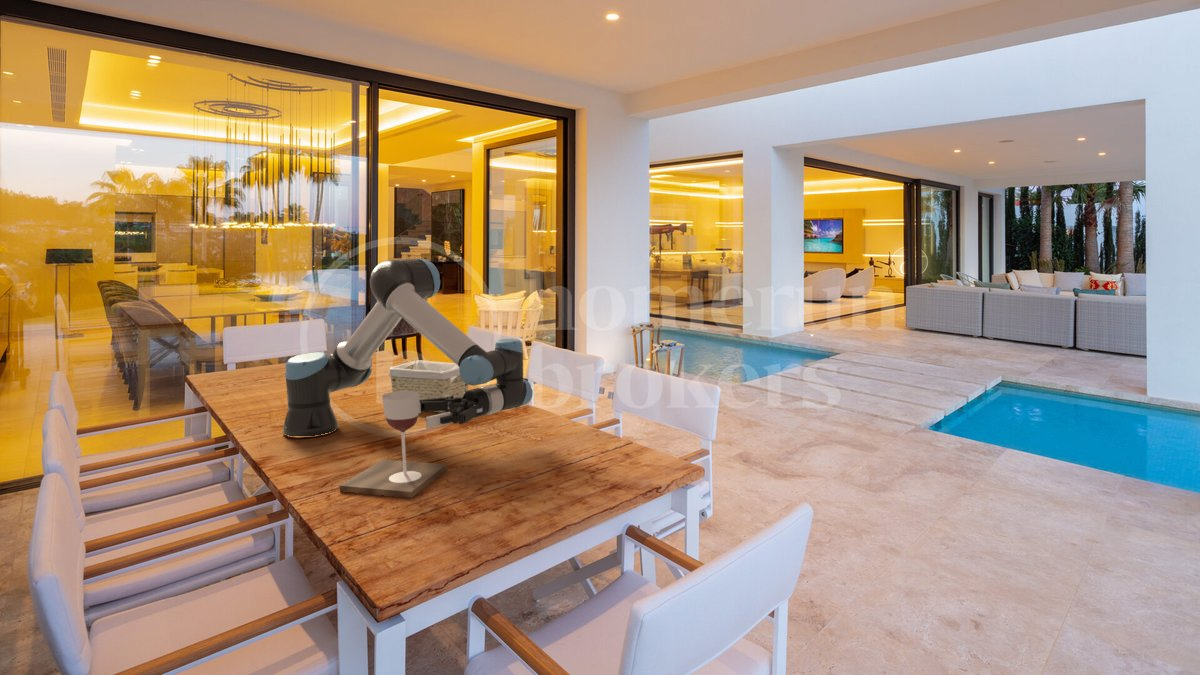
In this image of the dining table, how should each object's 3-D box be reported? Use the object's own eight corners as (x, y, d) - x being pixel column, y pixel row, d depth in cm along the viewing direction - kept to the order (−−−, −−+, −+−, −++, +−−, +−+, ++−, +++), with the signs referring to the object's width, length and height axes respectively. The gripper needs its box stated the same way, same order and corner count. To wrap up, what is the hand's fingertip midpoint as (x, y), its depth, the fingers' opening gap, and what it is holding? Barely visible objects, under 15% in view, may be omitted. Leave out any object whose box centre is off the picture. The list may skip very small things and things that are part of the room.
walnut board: (339, 491, 144) (339, 485, 144) (382, 464, 161) (381, 459, 161) (411, 498, 140) (411, 491, 140) (446, 470, 158) (446, 464, 158)
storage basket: (388, 408, 217) (386, 366, 215) (418, 398, 232) (417, 359, 230) (445, 415, 208) (443, 372, 206) (473, 404, 223) (472, 363, 221)
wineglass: (405, 468, 155) (401, 389, 152) (430, 474, 150) (426, 393, 147) (379, 478, 148) (374, 396, 145) (405, 485, 144) (400, 401, 141)
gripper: (512, 423, 160) (441, 443, 144) (455, 407, 176) (386, 422, 161) (511, 395, 159) (440, 411, 143) (454, 381, 175) (384, 394, 160)
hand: (411, 417), depth 152 cm, fingers open, 13 cm apart
